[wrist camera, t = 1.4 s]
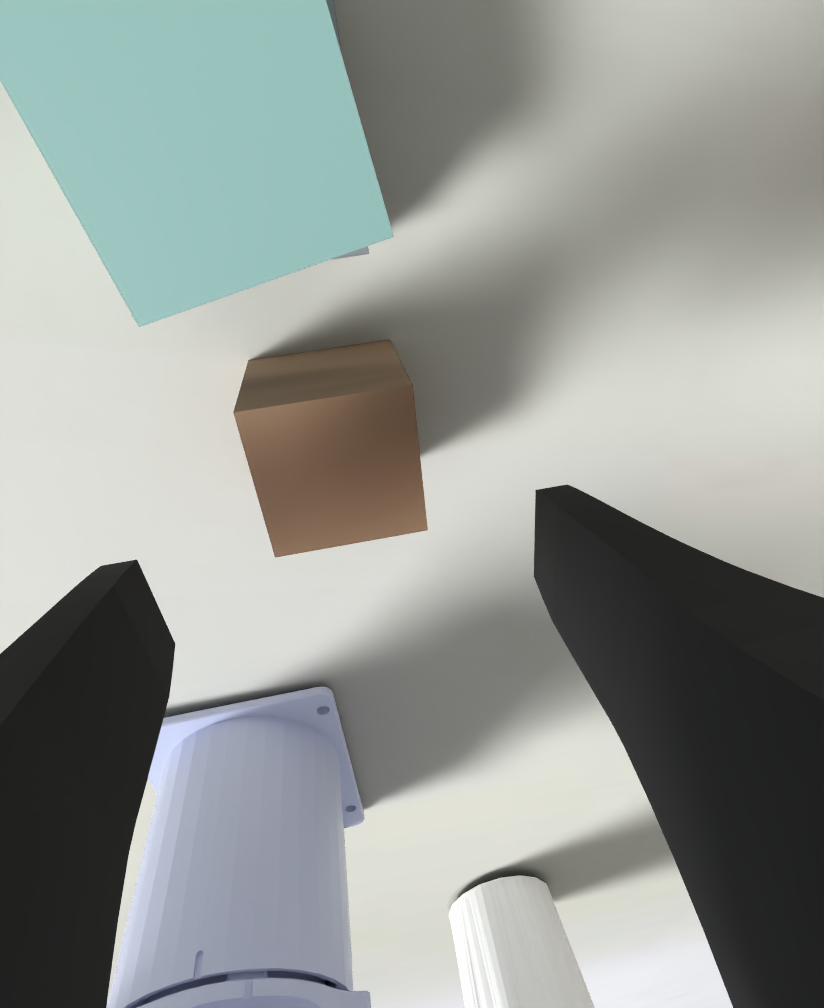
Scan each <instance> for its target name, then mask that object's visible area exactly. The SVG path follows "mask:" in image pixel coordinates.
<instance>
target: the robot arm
mask: <svg viewBox="0 0 824 1008" xmlns="http://www.w3.org/2000/svg"><path fill="white" fill-rule="evenodd" d="M534 578H535V580H536V583H537V585H538V588H539V590H540V593H541V595H542V598H543V600H544V603H545V605H546V607H547V609H548V612H549V614H550V616H551V619H552V621H553V623H554V625H555V626H556V628H557V630H558V632H559V633H560V635H561V637H562V639H563V640H564V642H565V644H566V646H567V647H568V649H569V651H570V653H571V654H572V656H573V658H574V659H575V661H576V663H577V664H578V666H579V668H580V670H581V671H582V673H583V675H584V676H585V678H586V680H587V681H588V683H589V685H590V687H591V688H592V690H593V692H594V693H595V695H596V697H597V698H598V700H599V702H600V704H601V705H602V707H603V709H604V710H605V712H606V714H607V715H608V717H609V719H610V721H611V722H612V724H613V726H614V728H615V730H616V732H617V734H618V736H619V737H620V739H621V741H622V743H623V745H624V747H625V749H626V751H627V754H628V756H629V758H630V760H631V762H632V765H633V767H634V769H635V771H636V773H637V775H638V778H639V780H640V782H641V784H642V786H643V788H644V791H645V793H646V795H647V797H648V799H649V802H650V804H651V806H652V809H653V811H654V813H655V815H656V818H657V820H658V822H659V825H660V827H661V829H662V832H663V834H664V836H665V838H666V841H667V843H668V845H669V848H670V850H671V852H672V855H673V857H674V859H675V862H676V864H677V866H678V869H679V871H680V874H681V876H682V879H683V881H684V884H685V886H686V888H687V891H688V893H689V896H690V898H691V901H692V903H693V906H694V908H695V910H696V913H697V915H698V918H699V920H700V923H701V925H702V928H703V930H704V932H705V935H706V938H707V940H708V943H709V946H710V948H711V951H712V953H713V956H714V959H715V961H716V964H717V966H718V969H719V972H720V974H721V977H722V979H723V982H724V985H725V987H726V990H727V992H728V995H729V998H730V1000H731V1003H732V1005H733V1008H824V598H823V597H820V596H816V595H813V594H810V593H807V592H804V591H801V590H798V589H795V588H792V587H790V586H787V585H784V584H781V583H779V582H776V581H773V580H771V579H768V578H765V577H763V576H760V575H757V574H754V573H752V572H749V571H746V570H744V569H741V568H739V567H736V566H734V565H731V564H729V563H727V562H724V561H722V560H720V559H717V558H715V557H713V556H711V555H708V554H706V553H704V552H702V551H699V550H697V549H695V548H693V547H690V546H688V545H686V544H684V543H682V542H680V541H678V540H676V539H674V538H671V537H669V536H667V535H665V534H663V533H661V532H659V531H657V530H655V529H653V528H651V527H649V526H647V525H645V524H643V523H642V522H640V521H638V520H636V519H634V518H632V517H630V516H628V515H626V514H624V513H622V512H621V511H619V510H617V509H615V508H613V507H611V506H609V505H607V504H605V503H604V502H602V501H600V500H598V499H596V498H594V497H592V496H590V495H588V494H586V493H584V492H582V491H580V490H578V489H576V488H574V487H572V486H570V485H562V486H557V487H551V488H545V489H539V490H536V504H535V551H534ZM174 650H175V642H174V640H173V638H172V636H171V634H170V631H169V629H168V627H167V625H166V623H165V620H164V618H163V616H162V614H161V612H160V609H159V607H158V605H157V603H156V601H155V598H154V596H153V594H152V592H151V590H150V587H149V585H148V583H147V581H146V579H145V576H144V574H143V572H142V570H141V567H140V565H139V563H138V561H137V560H132V561H127V562H121V563H115V564H109V565H104V566H100V567H99V568H98V569H96V570H95V571H94V572H92V573H91V574H90V575H89V576H87V577H86V578H85V579H84V580H83V581H82V582H80V583H79V584H78V585H77V586H76V587H75V588H73V589H72V590H71V591H70V592H69V593H68V594H67V595H66V596H64V597H63V598H62V599H61V600H60V601H59V602H58V603H57V604H56V605H54V606H53V607H52V608H51V609H50V610H49V611H48V612H47V613H46V614H45V615H43V616H42V617H41V618H40V619H39V620H38V621H37V622H36V623H34V624H33V625H32V626H31V627H30V628H29V629H28V630H27V631H26V632H24V633H23V634H22V635H21V636H20V637H19V638H18V639H17V640H16V641H14V642H13V643H12V644H11V645H10V646H9V647H8V648H7V649H5V650H4V651H3V652H2V653H1V654H0V1008H106V1005H107V996H108V988H109V981H110V974H111V966H112V959H113V952H114V945H115V937H116V930H117V923H118V916H119V910H120V904H121V898H122V892H123V885H124V879H125V873H126V867H127V861H128V855H129V850H130V845H131V841H132V837H133V832H134V828H135V823H136V819H137V816H138V812H139V808H140V805H141V801H142V797H143V793H144V790H145V786H146V782H147V779H149V781H150V782H151V784H152V786H153V788H154V789H155V791H156V793H157V795H156V799H155V804H154V808H153V812H152V816H151V821H150V825H149V829H148V833H147V838H146V842H145V846H144V851H143V855H142V859H141V863H140V868H139V872H138V876H137V881H136V885H135V889H134V893H133V898H132V902H131V906H130V910H129V915H128V919H127V923H126V928H125V932H124V936H123V940H122V945H121V949H120V953H119V957H118V962H117V966H116V970H115V975H114V979H113V983H112V987H111V992H110V996H109V1000H108V1005H107V1008H371V1000H370V992H368V991H353V977H352V952H351V935H350V919H349V903H348V887H347V871H346V855H345V839H344V828H347V827H352V826H356V825H359V824H360V823H362V822H363V820H364V810H363V806H362V802H361V799H360V795H359V791H358V787H357V783H356V779H355V776H354V772H353V768H352V764H351V760H350V756H349V752H348V749H347V745H346V741H345V737H344V733H343V729H342V725H341V722H340V718H339V714H338V710H337V706H336V702H335V699H334V695H333V692H332V690H331V689H329V688H327V687H315V688H310V689H305V690H300V691H295V692H290V693H285V694H280V695H275V696H270V697H265V698H260V699H255V700H250V701H245V702H240V703H235V704H230V705H225V706H220V707H215V708H210V709H205V710H200V711H195V712H190V713H185V714H180V715H175V716H170V717H165V718H164V715H165V711H166V707H167V703H168V699H169V693H170V686H171V678H172V670H173V660H174ZM321 706H325V707H321Z"/></svg>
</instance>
